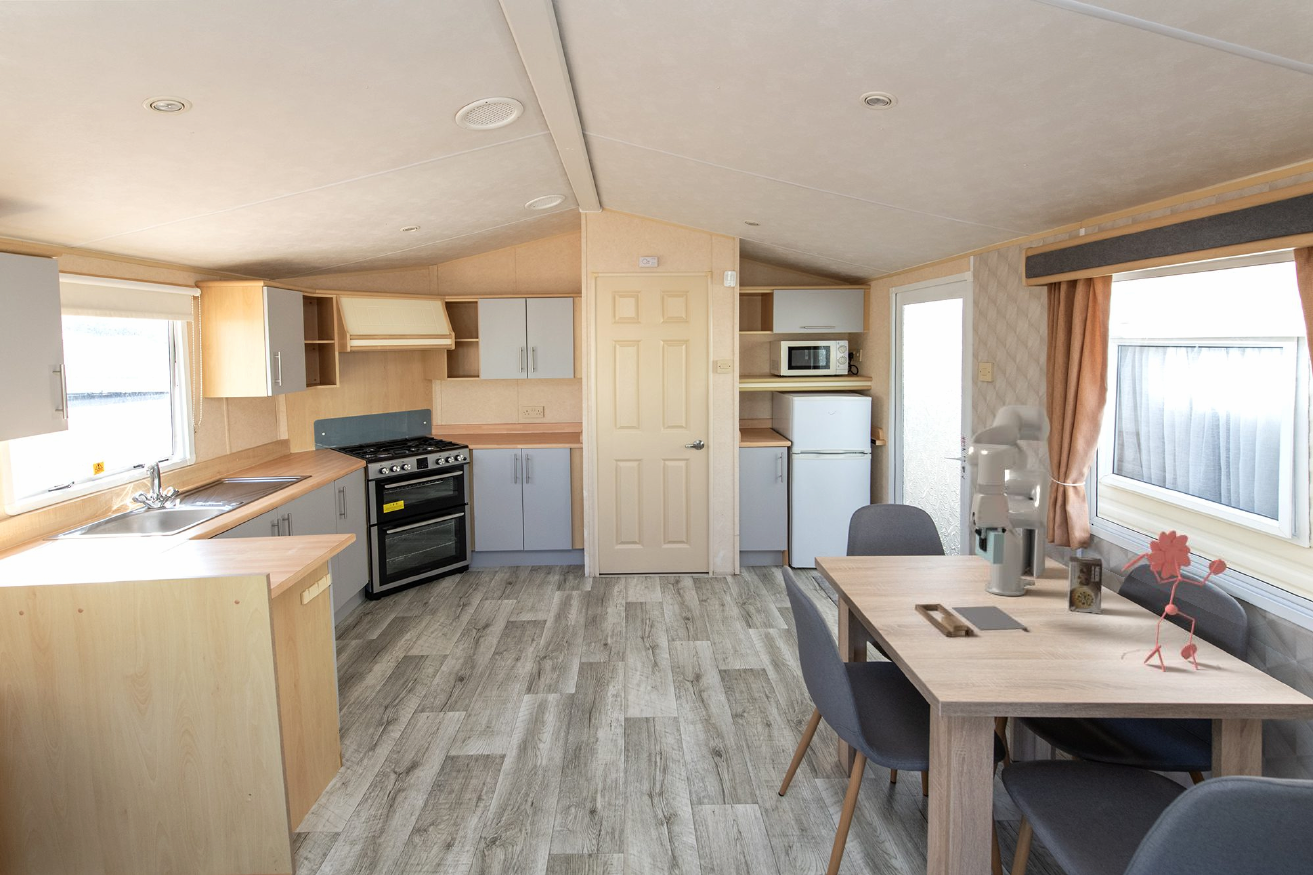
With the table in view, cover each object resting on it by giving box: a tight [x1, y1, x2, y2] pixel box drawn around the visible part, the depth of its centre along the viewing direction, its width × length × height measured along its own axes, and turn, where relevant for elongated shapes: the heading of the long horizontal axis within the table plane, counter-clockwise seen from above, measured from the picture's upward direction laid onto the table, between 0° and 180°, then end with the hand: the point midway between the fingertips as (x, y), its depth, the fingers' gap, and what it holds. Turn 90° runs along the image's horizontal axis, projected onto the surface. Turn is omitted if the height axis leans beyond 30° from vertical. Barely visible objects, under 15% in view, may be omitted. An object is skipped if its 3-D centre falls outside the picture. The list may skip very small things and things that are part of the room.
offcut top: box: [940, 615, 968, 631], centre depth 238 cm, size 4×8×2 cm, turn 5°
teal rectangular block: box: [974, 525, 1004, 564], centre depth 246 cm, size 3×12×9 cm, turn 3°
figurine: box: [1121, 530, 1227, 672], centre depth 215 cm, size 15×26×35 cm, turn 96°
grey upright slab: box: [1020, 496, 1048, 579], centre depth 297 cm, size 14×6×30 cm, turn 143°
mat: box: [951, 605, 1028, 632], centre depth 248 cm, size 14×20×1 cm
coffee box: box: [1067, 556, 1104, 615], centre depth 256 cm, size 9×6×16 cm
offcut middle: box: [939, 621, 966, 637], centre depth 238 cm, size 4×8×2 cm, turn 5°
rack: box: [914, 603, 975, 638], centre depth 245 cm, size 8×24×2 cm, turn 3°
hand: (989, 549), depth 246 cm, fingers closed on teal rectangular block, 3 cm apart
